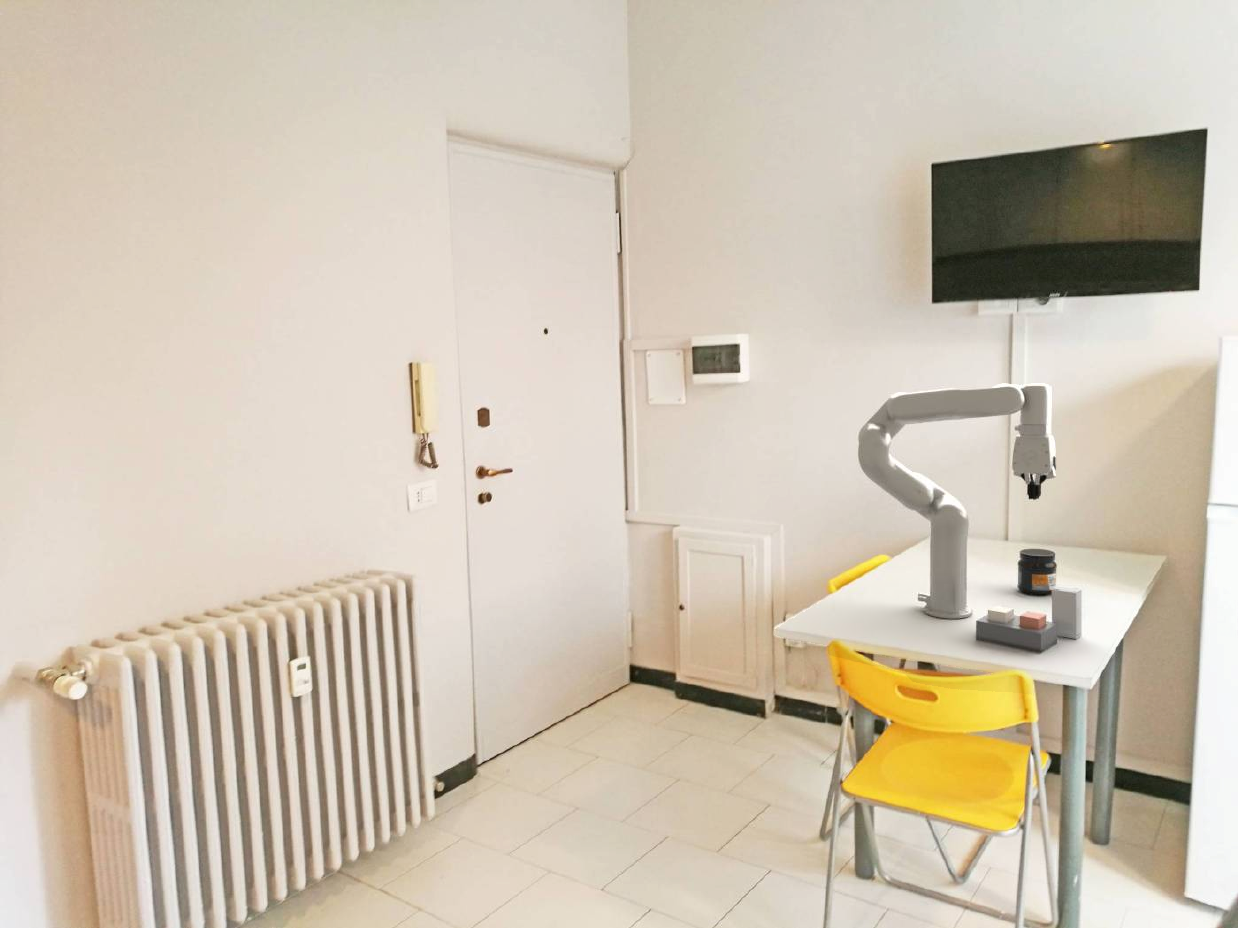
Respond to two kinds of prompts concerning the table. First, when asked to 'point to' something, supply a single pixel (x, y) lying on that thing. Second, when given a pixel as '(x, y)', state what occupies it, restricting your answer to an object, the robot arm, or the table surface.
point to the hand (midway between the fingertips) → (1033, 498)
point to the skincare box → (1067, 611)
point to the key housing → (1017, 634)
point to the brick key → (1033, 620)
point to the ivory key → (1001, 614)
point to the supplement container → (1036, 572)
